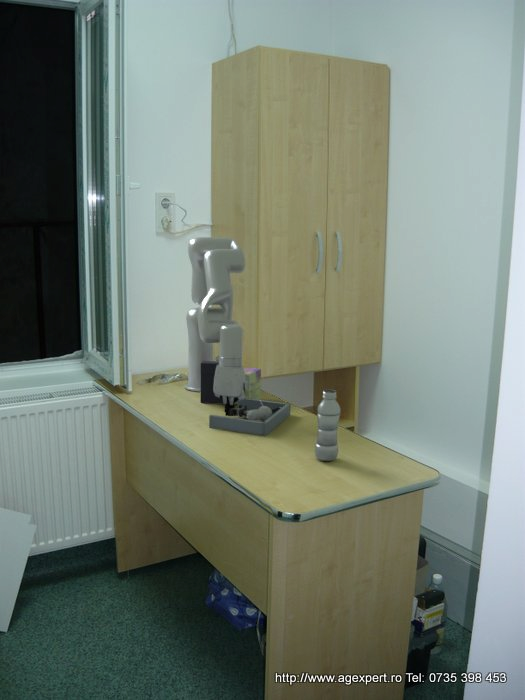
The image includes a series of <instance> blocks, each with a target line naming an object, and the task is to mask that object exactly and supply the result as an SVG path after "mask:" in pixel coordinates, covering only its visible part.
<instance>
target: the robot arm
mask: <svg viewBox="0 0 525 700" xmlns="http://www.w3.org/2000/svg"><path fill="white" fill-rule="evenodd" d="M187 245H188V246H187V253H188V258H189V261H190V264H191V290H190V292H191V294H190V295H191V300H192V302H193V304H195V305H199V306H198V307H194V308H191V309H189V310H188V312H186V316H185V317H186V318H185V319H186V320H185V321H186V327H187V335H188V337H187V338H188V362H187V363H188V364H187V365H188V372H187V375H188V376H187V377H188V379H187V381H188V382H186V383H184V385H183V386H184V389H185V390H187V391H190V392H199V393H201V363H202V361H214V344H219V349H218V351H219V355H218V356H216V357H215V361H217V362H219V364H218V365H217V366H216V371H215V377H214V388H213V391H214V393H215V396H216V397H219V398H221V400H222V401H223V403H224V404H223V405H224V414H225V415H224V417H231V416H230V409H231V408H236V407H235V405H236V404H235V403H236V402H237V401H238V400H244V399H245V391H246V382H245V372H244V369H245V367H244V365H243V332H244V331H243V327H242V326H241V325H240V322H238V321H236V320H233V310H234V287H233V284H232V280H231V274H241V273H243V272H244V270H245V268H246V259H245V258H246V257H245V254H244V252H243V250H242V248H241V246H240V245H239V243H238V242H237V241H236V239H234V238H231V237H214V236H207V237H206V236H203V237H202V236H201V237H194V238H191V239H190V240H189V242H188V244H187ZM211 305H212V307H210V306H211ZM217 305H219V307H218V306H217ZM214 306H216V307H214ZM229 397H231V398H230V399H229Z"/></svg>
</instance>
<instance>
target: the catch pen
mask: <svg viewBox="0 0 525 700" xmlns="http://www.w3.org/2000/svg"><path fill="white" fill-rule="evenodd" d="M260 400H261V401H262V403H263V405H264V406H267V407H269V408H270V409H271V410H272V409H274V408H277V407H282V408H280V409H278V410H277V411H274V412H272V416H271V417H269V418H268V419H267V420H265V421H264V422H263V421H260V420H249V419H246V418H243V419H242V418H241V419H239V417H232V416H225V415H224V416H223V415H215V414H209V418H208V419H209V425H208V426H209V427H208V428H209V429H217V430H221V431H222V430H223V431H228V432H229V431H230V432H237V433H241V434H242V433H244V434H249V435H256V436H263V437H266V436H268V434H270V433H271V432H272V431H273V430H274V429H275V428H276V427H278V426H279V425H280V424H282V422H284V421H285V420H286V419H287V418H289V417H290V416H291V405H292V404H291V403H287V402H279V401H270V400H263V399H260ZM260 400H257V399H250V398H245V399H244V400H238V401H237V404H236V406H237V407H236V408H239V405H242V409H243V408H245V405H247V411H249V410H254V409H259V408H260V407H262V404H261V402H260Z"/></svg>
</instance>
